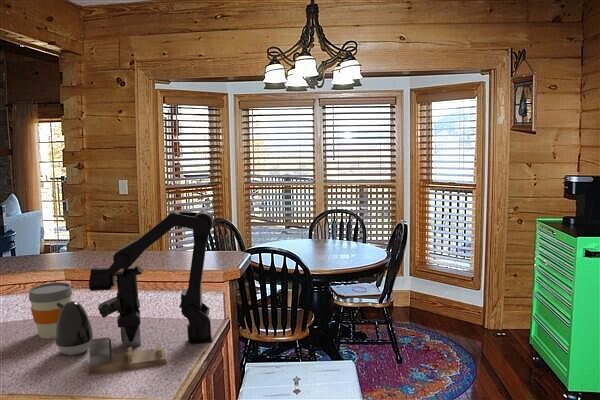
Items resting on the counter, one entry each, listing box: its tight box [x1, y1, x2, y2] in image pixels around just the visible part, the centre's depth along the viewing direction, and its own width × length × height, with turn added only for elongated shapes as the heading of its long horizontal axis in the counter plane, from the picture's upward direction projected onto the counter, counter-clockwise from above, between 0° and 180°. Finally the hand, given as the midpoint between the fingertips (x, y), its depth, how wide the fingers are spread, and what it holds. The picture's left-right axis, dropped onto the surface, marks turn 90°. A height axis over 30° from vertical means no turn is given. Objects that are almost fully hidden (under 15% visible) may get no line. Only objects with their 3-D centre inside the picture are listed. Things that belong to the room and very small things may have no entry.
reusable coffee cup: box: [28, 281, 73, 340], centre depth 172 cm, size 13×13×15 cm
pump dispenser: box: [54, 300, 94, 356], centre depth 157 cm, size 10×10×15 cm
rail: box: [87, 336, 167, 376], centre depth 149 cm, size 20×8×8 cm, turn 107°
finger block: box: [120, 324, 142, 348], centre depth 162 cm, size 5×4×6 cm
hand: (131, 338), depth 163 cm, fingers closed on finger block, 4 cm apart
